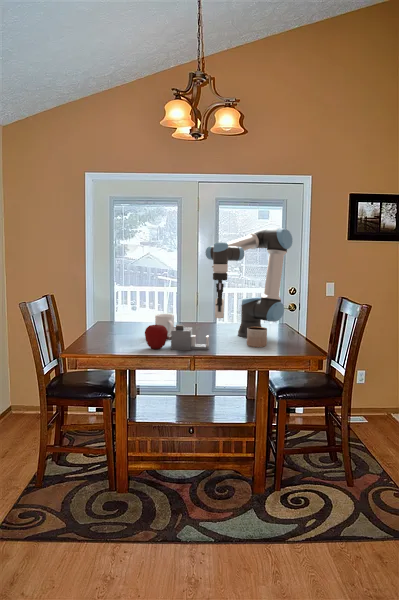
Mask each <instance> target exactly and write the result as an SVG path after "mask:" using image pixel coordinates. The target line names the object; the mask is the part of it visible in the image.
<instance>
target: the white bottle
mask: <svg viewBox="0 0 399 600" xmlns="http://www.w3.org/2000/svg"><path fill="white" fill-rule="evenodd" d="M214 301H215V303H214V305H215V307H214V310H215V312H214V318H215V319H218V318H217V305H216V304H217V297H216V298H215V300H214ZM224 310H225V298H223V297H222V318H221V319H223V318H224V315H225V313H224Z"/></svg>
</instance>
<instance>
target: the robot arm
mask: <svg viewBox="0 0 399 600" xmlns="http://www.w3.org/2000/svg"><path fill="white" fill-rule="evenodd" d="M291 233H292V232H291V231H290V230H289V229H287V228H282V227H281V228H280V227H278V228H263V229H259V230H256V231H254V232H250V233H249V234H247V235H246V236H243V237H241V238H237V239H235V240H230V241H228V242H219V241H218V242H214V244H213V245H211V246H209V245H208V246H207V247H206V249H205V257H206V259H207V260H212V261H213V262H212V263H213V264H212V265H211V268H212V272H213V273H212V280H213V281H217V283H215V287H216V293H217V294H216V295H217V297H216V298H217V304H216V305H217V318H216V319H223V318H222V298H223V292H224V286H225V283H223V281H227V280H228V273H227V272H228V271H229V268H228V267H229V266H228V264H229V262H230V261H231V262H232V261H233V262H238V261H239V262H240V261H242V260H244V257H245V251H248V250H250V249H251V250H256V249H266V252H267V253H268V260H267V269H266V276H265V284H264V292H263V295H262V296H261V297H246V298H245V297H244V298H242V300H241V307H240V308H241V310H240V311H241V315H240V316H241V318H240V319H241V321H240V325H239V328H238V330H237V336H238V337H242V338H247V328H248V327H262V324H261V321H264V322H265V321H266V322H272V323H273V322H274V323H276V322H278V321H280V320H281V319H282V317H283V316H284V312H285V307H284V303H282V299H281V298H280V290H281V284H282V283H281V281H282V273H283V266H284V257H285V255H286V254H287V253H288V250H289V249H290V248H291V247H292V245H293V236H292V234H291Z"/></svg>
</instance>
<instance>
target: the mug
mask: <svg viewBox="0 0 399 600" xmlns="http://www.w3.org/2000/svg"><path fill="white" fill-rule="evenodd" d="M154 318H155V320H154V322H155V324H154V325H163V326H164V327H165V328H166V329H167V331H168V335H167V336H171V330H172V329H173V327H175V315H174V314H171V313H160V314H159V313H158V314H157V313H156V314H155V317H154Z"/></svg>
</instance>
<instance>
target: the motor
mask: <svg viewBox="0 0 399 600" xmlns="http://www.w3.org/2000/svg"><path fill="white" fill-rule="evenodd" d="M196 335H197V334H193V326H190V327H187V326H185V325H184V324H176V325H175V326H174V327H173V329H172V330H171V336H167V340H166V341H170V350H171V351H191V350H192V351H193V350H197V351H198V350H199V351H201V350H202V351H204V350H205V351H209V349H210V348H209V347H210V335H209V334H208V335H206V336H205V338H206V339H205V340H206V341H205V343H197V342H196V341H197V340H196V337H197V336H196Z"/></svg>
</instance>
